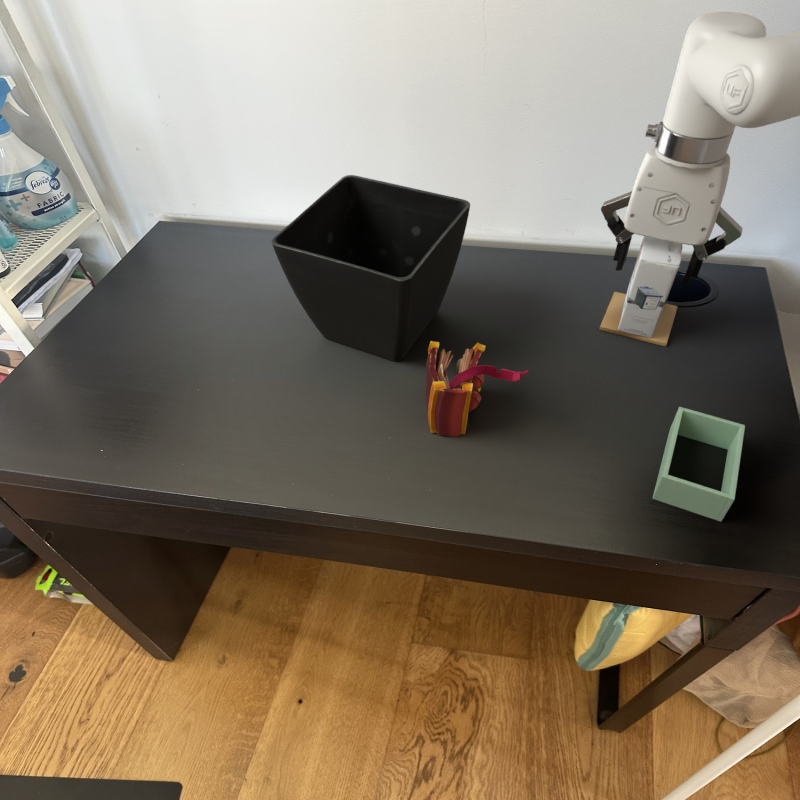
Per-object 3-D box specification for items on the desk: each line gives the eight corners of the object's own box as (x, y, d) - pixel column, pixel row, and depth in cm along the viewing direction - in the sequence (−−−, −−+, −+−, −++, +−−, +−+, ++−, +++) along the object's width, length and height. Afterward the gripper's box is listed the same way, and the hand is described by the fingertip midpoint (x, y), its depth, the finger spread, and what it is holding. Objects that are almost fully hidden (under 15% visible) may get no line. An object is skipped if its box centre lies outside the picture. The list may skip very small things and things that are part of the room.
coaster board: (676, 309, 90) (677, 306, 90) (665, 346, 85) (666, 343, 84) (613, 294, 93) (614, 291, 93) (599, 329, 88) (600, 326, 87)
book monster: (427, 380, 81) (519, 398, 79) (411, 432, 75) (510, 453, 74) (431, 317, 73) (534, 335, 72) (414, 370, 67) (525, 391, 66)
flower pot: (410, 387, 81) (407, 278, 69) (289, 346, 87) (266, 240, 75) (467, 305, 92) (473, 200, 80) (356, 275, 99) (346, 173, 87)
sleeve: (732, 448, 72) (745, 425, 69) (721, 522, 65) (734, 499, 62) (669, 429, 74) (679, 406, 72) (652, 498, 68) (662, 476, 65)
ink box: (625, 296, 92) (645, 224, 83) (661, 303, 90) (685, 230, 82) (617, 332, 86) (637, 258, 78) (655, 339, 85) (680, 266, 76)
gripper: (607, 142, 71) (580, 272, 84) (775, 169, 65) (719, 304, 78) (622, 118, 76) (594, 244, 88) (779, 140, 70) (726, 272, 83)
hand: (653, 272), depth 83 cm, fingers open, 8 cm apart
